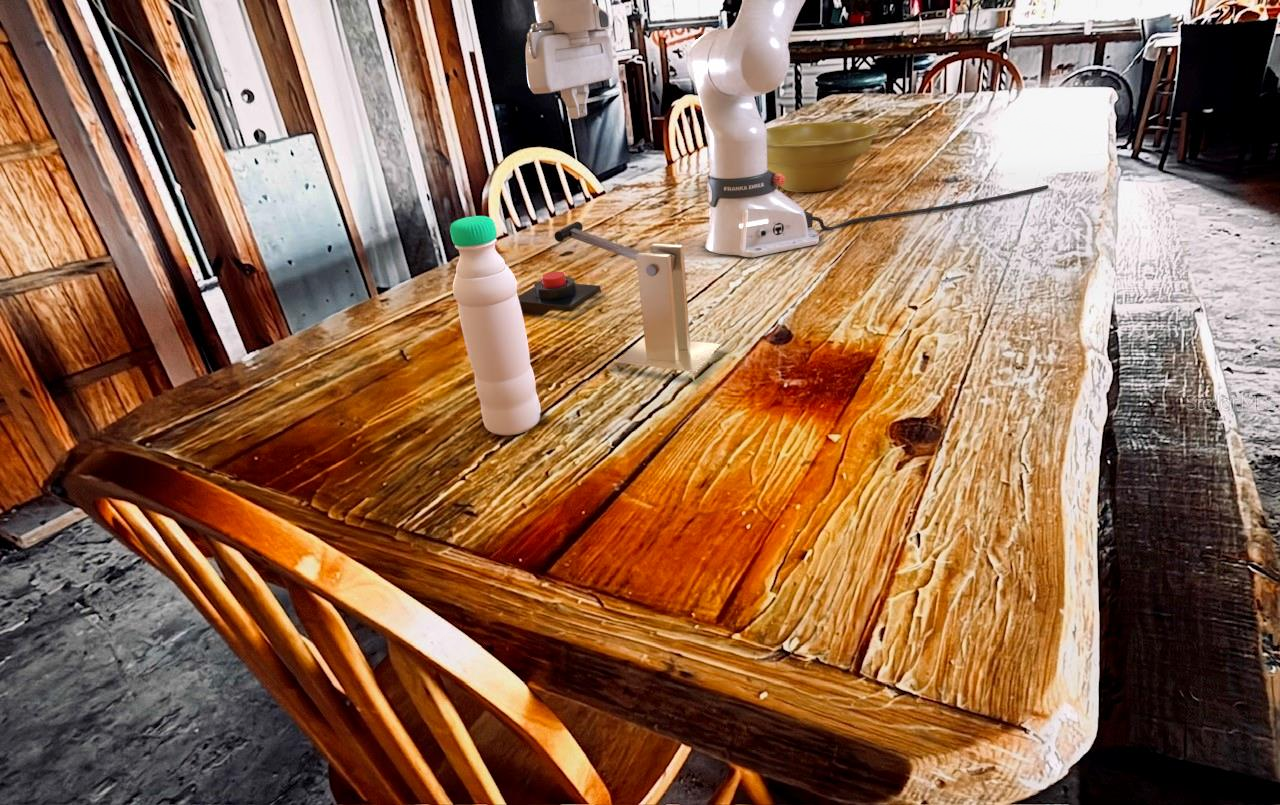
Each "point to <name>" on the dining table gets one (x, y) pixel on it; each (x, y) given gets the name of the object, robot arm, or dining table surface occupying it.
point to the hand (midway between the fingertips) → (578, 117)
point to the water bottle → (493, 329)
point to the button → (553, 279)
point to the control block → (556, 297)
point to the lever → (601, 242)
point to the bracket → (665, 315)
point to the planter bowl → (816, 153)
